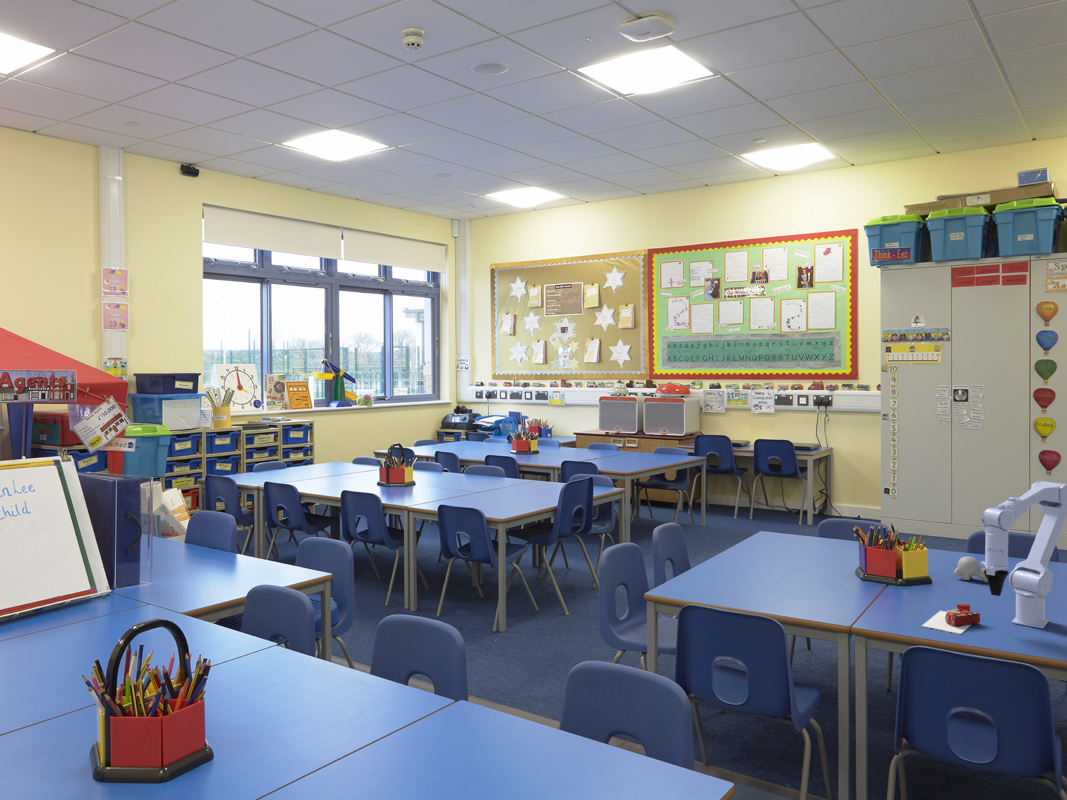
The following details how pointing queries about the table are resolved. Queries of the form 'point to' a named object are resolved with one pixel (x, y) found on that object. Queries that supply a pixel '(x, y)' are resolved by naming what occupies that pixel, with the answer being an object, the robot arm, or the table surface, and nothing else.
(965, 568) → the chubby cartoon animal
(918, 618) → the table surface
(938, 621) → the mat
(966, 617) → the toy fire truck
